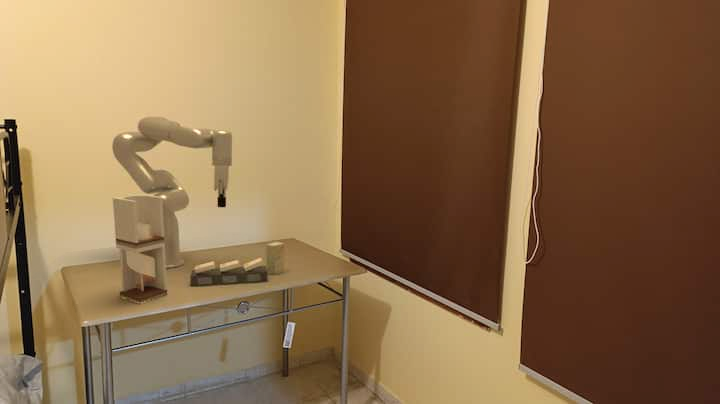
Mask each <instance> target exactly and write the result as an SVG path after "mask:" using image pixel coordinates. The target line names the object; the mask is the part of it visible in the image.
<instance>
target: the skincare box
mask: <svg viewBox="0 0 720 404" xmlns="http://www.w3.org/2000/svg"><path fill="white" fill-rule="evenodd" d="M266 268H267V275H273V276H274V275H278V274H281V273H284V272H285V243H284V242H278V241H274V242H271V243H267V244H266Z"/></svg>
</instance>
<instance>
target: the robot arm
mask: <svg viewBox="0 0 720 404" xmlns="http://www.w3.org/2000/svg"><path fill="white" fill-rule="evenodd" d="M137 129H138V131H128V132H122V133H118V134H117V135H116V136H115V137H114V139H113V140H112V146H111V147H112V149H111V150H112V153H113V156H114V158H115V159H116V161H117V162H118V164H120V165H121V167H122V168H123V169H124V170H125V171H126V172H127V173H128V175H129V176H130V177H131V179H132V180H133V181H134V182H135V184H136V185H137V186H138V187H139V189H140V190H141V191H142V192H143V193H145V194H146V195H150V194H154V195H153V196H156V197H162V205H163V224H164V242H165V261H166V269H173V268H178V267H180V266H182V265H184V264H185V260H184V259H183V258H181V254H180V253H181V252H180V234H179V233H180V232H179V231H180V230H179V228H180V227H179V221H178V217H177V216H176V212H179V211H183V210H184V209H186V208H187V207H188V206H189V202H190V198H189V195H188V192H187V191H186V190H185V189H184V187H183V186H182V185H181V184H180V182H179V181H178V180H177V178H176V177H175V176H174V175H173V174H172V172H169V171H167V169H166V170H165V169H153V168H152V167H151V166H150V165H149V163H148V162H147V161H146V160H145V159H144V158H143V157H141V156H140V155H138V153H141V152H142V153H143V152H149V151H151V150H153V149H154V148H155V147H156V146H158V145H159V144H161V142H163V141H164V142H168V143H172V144H174V145H177V146H179V147H185V148H189V149H208V148H209V149H210V148H211V151H212V152H211V153H212V154H211V155H212V156H211V157H212V159H211V161H212V163H211V164H212V166H213V167H214V170H213V172H214V175H213V176H214V177H213V178H214V179H213V182H214V183H213V186H214V187H213V189H214V191H215V192H216V191H217V207H218V208H226V206H227V196H226V191H228V190H227V189H228V186H229V172H230V171H229V167H232V166H233V165H232V162H233V161H232V160H233V158H232V157H233V134H232V132H231V131H229V130H216V129H212V128H211V129H210V128H190V127H185V126H181V124H180V123H179V122H177V121H173V120H169V119H167V118H165V117H162V116H146V117H143V118H141V119H140V120H139V122H138V123H137Z"/></svg>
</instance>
